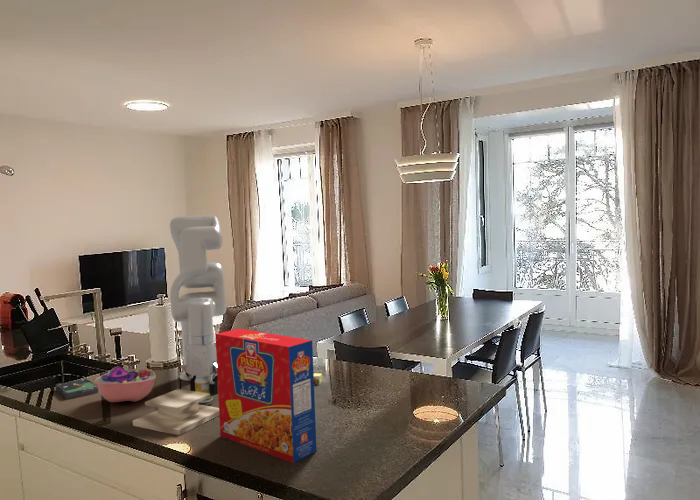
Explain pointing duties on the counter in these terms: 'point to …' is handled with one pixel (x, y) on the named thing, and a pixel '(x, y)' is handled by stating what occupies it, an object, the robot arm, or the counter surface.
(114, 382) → the cell model
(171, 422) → the stand
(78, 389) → the disk drive
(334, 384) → the counter surface
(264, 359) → the pasta box
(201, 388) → the supplement bottle
